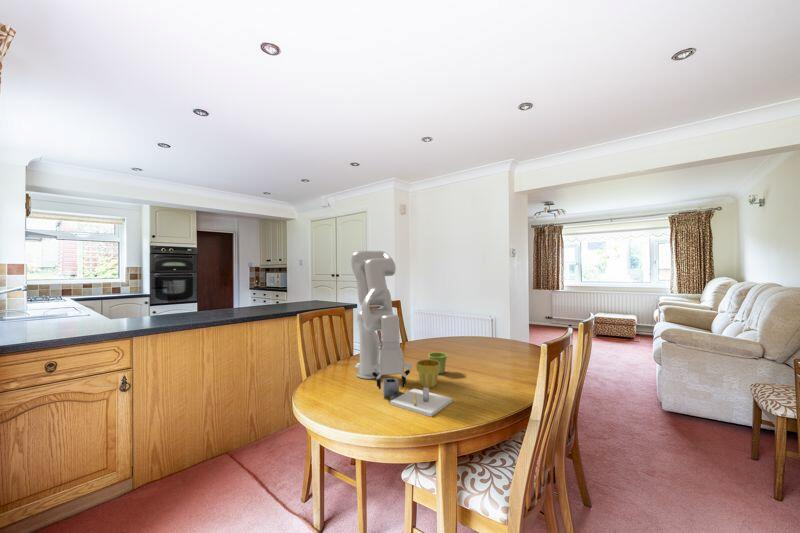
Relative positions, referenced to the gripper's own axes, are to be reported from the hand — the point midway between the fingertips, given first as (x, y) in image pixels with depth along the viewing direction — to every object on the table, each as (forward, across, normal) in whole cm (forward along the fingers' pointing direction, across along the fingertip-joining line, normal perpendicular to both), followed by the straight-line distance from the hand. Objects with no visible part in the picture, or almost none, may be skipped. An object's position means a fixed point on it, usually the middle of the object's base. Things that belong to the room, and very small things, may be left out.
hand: (391, 387), depth 135 cm
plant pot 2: (+3, +17, +9) cm, 20 cm away
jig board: (+3, +10, -10) cm, 15 cm away
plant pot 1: (+3, +26, +24) cm, 36 cm away
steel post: (+2, +12, -11) cm, 16 cm away
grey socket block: (+3, 0, -1) cm, 3 cm away
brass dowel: (+2, +7, -14) cm, 16 cm away
